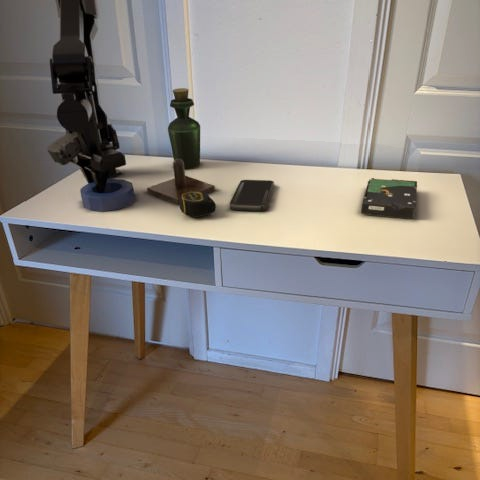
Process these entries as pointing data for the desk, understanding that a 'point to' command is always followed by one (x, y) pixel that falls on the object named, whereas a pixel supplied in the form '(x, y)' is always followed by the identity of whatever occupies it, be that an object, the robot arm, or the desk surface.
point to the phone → (252, 195)
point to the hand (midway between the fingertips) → (97, 191)
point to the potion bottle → (184, 131)
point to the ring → (108, 195)
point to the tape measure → (196, 204)
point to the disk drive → (390, 198)
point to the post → (179, 185)
